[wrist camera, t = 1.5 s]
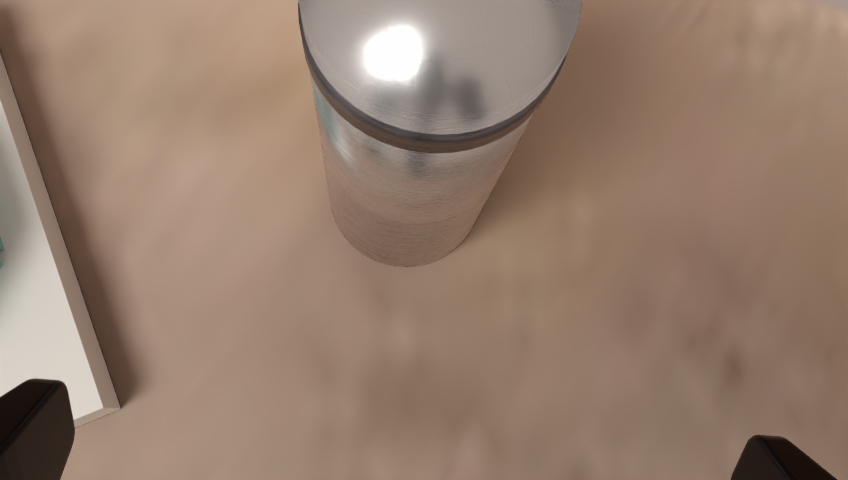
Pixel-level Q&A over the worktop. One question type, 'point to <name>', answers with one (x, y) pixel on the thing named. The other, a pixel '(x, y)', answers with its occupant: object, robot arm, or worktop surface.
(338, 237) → the worktop surface
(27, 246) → the pallet
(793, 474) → the robot arm
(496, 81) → the cylinder
